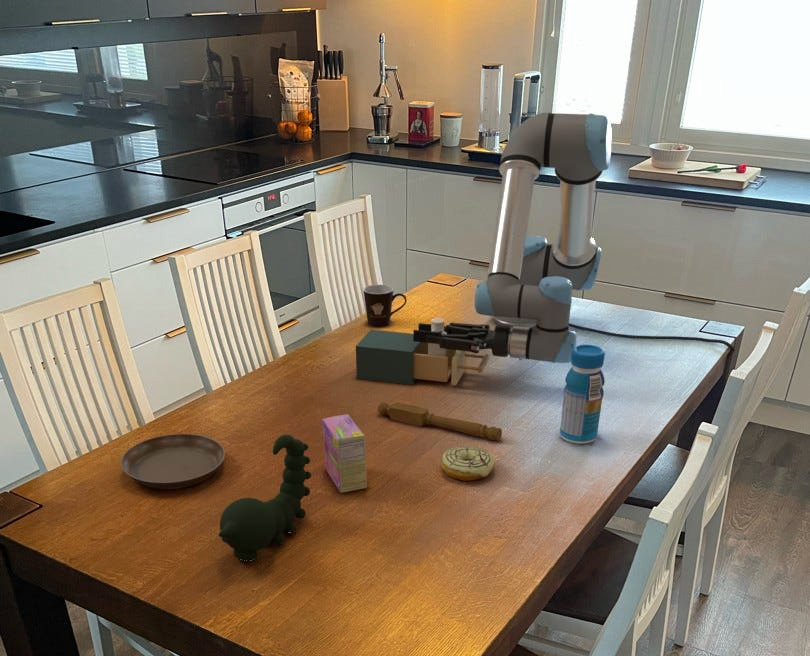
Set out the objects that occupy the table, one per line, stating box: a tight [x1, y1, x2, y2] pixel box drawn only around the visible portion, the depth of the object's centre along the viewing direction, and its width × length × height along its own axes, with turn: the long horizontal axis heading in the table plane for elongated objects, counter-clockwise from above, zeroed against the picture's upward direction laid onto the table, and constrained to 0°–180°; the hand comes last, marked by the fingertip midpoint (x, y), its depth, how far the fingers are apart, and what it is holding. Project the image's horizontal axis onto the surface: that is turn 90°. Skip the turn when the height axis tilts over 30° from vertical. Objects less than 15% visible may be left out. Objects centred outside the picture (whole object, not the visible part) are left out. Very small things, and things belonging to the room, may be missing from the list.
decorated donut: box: [441, 446, 496, 482], centre depth 174 cm, size 10×11×4 cm
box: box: [321, 413, 368, 494], centre depth 169 cm, size 10×6×12 cm, turn 21°
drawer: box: [413, 342, 491, 386], centre depth 212 cm, size 20×11×7 cm, turn 74°
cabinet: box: [355, 329, 422, 386], centre depth 216 cm, size 15×12×9 cm
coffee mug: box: [362, 284, 407, 328], centre depth 245 cm, size 12×9×10 cm
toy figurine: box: [218, 434, 312, 563], centre depth 149 cm, size 9×19×25 cm
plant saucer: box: [120, 433, 226, 490], centre depth 175 cm, size 21×21×3 cm
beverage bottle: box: [559, 344, 606, 445], centre depth 183 cm, size 8×8×20 cm
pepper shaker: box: [428, 317, 447, 356], centre depth 210 cm, size 4×4×10 cm
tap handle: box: [377, 402, 503, 442], centre depth 191 cm, size 3×3×30 cm
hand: (416, 332), depth 210 cm, fingers closed on pepper shaker, 4 cm apart
